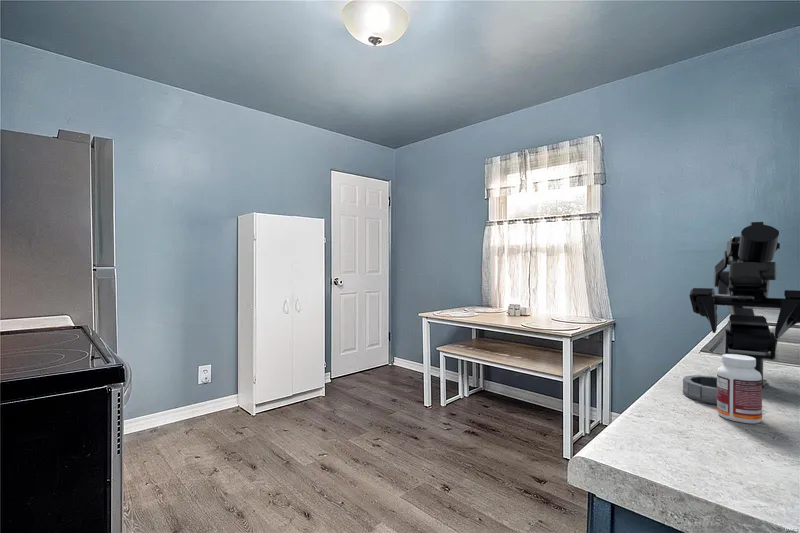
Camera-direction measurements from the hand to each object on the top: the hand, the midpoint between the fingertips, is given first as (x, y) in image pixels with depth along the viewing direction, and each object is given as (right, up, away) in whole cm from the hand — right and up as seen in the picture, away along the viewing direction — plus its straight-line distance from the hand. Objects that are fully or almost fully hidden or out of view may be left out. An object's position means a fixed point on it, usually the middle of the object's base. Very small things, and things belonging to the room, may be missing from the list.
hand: (743, 334), depth 77 cm
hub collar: (-1, -14, +6) cm, 15 cm away
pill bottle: (-5, -14, -5) cm, 16 cm away
